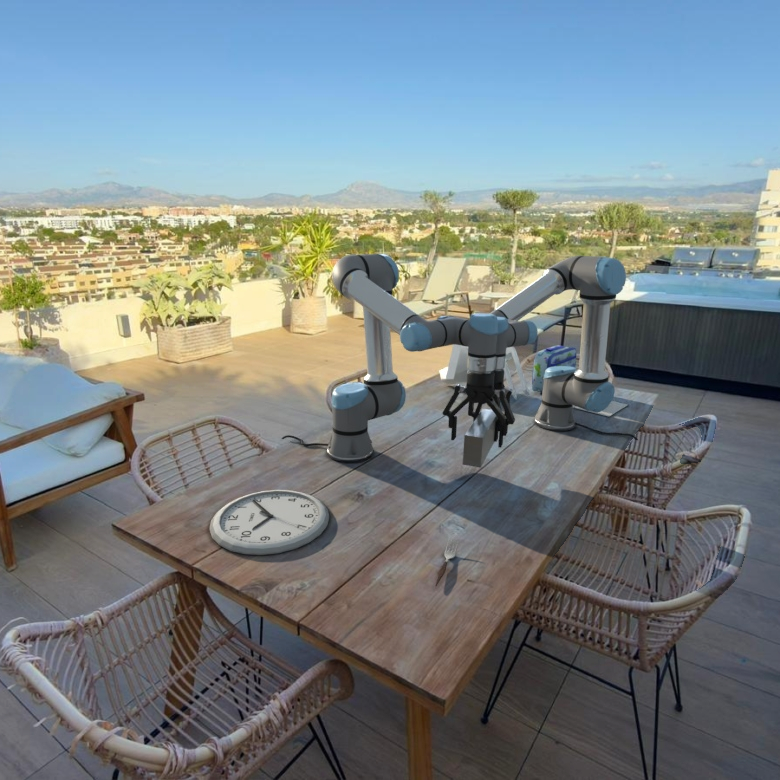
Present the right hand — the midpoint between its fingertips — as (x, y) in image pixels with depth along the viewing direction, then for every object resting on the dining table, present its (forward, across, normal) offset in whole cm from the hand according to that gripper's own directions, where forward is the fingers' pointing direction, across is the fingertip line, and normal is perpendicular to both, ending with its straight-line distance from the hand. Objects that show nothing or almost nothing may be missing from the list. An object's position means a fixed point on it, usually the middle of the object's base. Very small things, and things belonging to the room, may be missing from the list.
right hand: (486, 438), depth 166 cm
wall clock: (+9, -44, -56) cm, 72 cm away
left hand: (-5, 0, -17) cm, 18 cm away
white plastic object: (+9, -19, +76) cm, 79 cm away
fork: (+9, +3, -57) cm, 58 cm away
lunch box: (+9, +12, +94) cm, 95 cm away
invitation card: (+9, +34, +78) cm, 86 cm away
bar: (+1, 0, -8) cm, 8 cm away
